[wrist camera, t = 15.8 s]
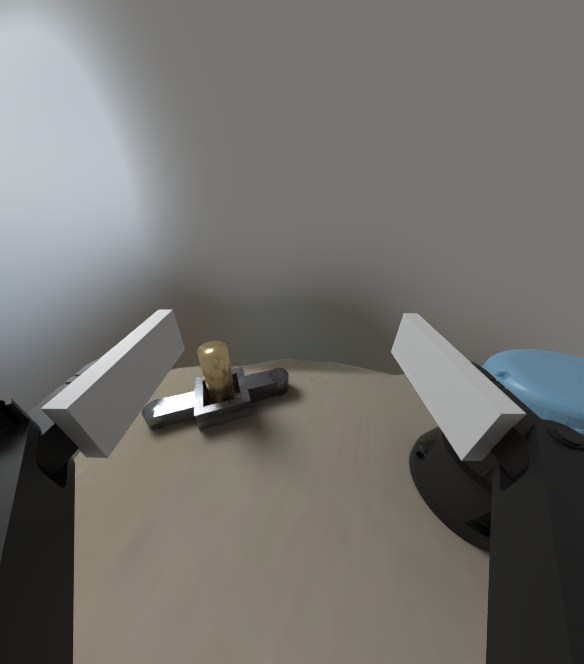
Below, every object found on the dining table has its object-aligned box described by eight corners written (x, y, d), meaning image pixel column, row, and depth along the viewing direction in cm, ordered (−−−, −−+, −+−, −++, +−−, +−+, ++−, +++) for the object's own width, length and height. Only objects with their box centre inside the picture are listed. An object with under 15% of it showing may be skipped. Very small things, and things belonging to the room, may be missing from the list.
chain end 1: (244, 379, 50) (242, 370, 49) (252, 414, 42) (251, 404, 41) (152, 401, 45) (147, 391, 43) (142, 445, 37) (135, 435, 35)
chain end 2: (281, 371, 53) (281, 358, 51) (295, 401, 45) (295, 388, 43) (199, 390, 47) (195, 377, 45) (198, 429, 39) (194, 415, 37)
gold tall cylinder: (235, 390, 47) (225, 338, 40) (238, 408, 44) (228, 354, 36) (211, 396, 46) (197, 343, 39) (212, 415, 42) (197, 360, 35)
